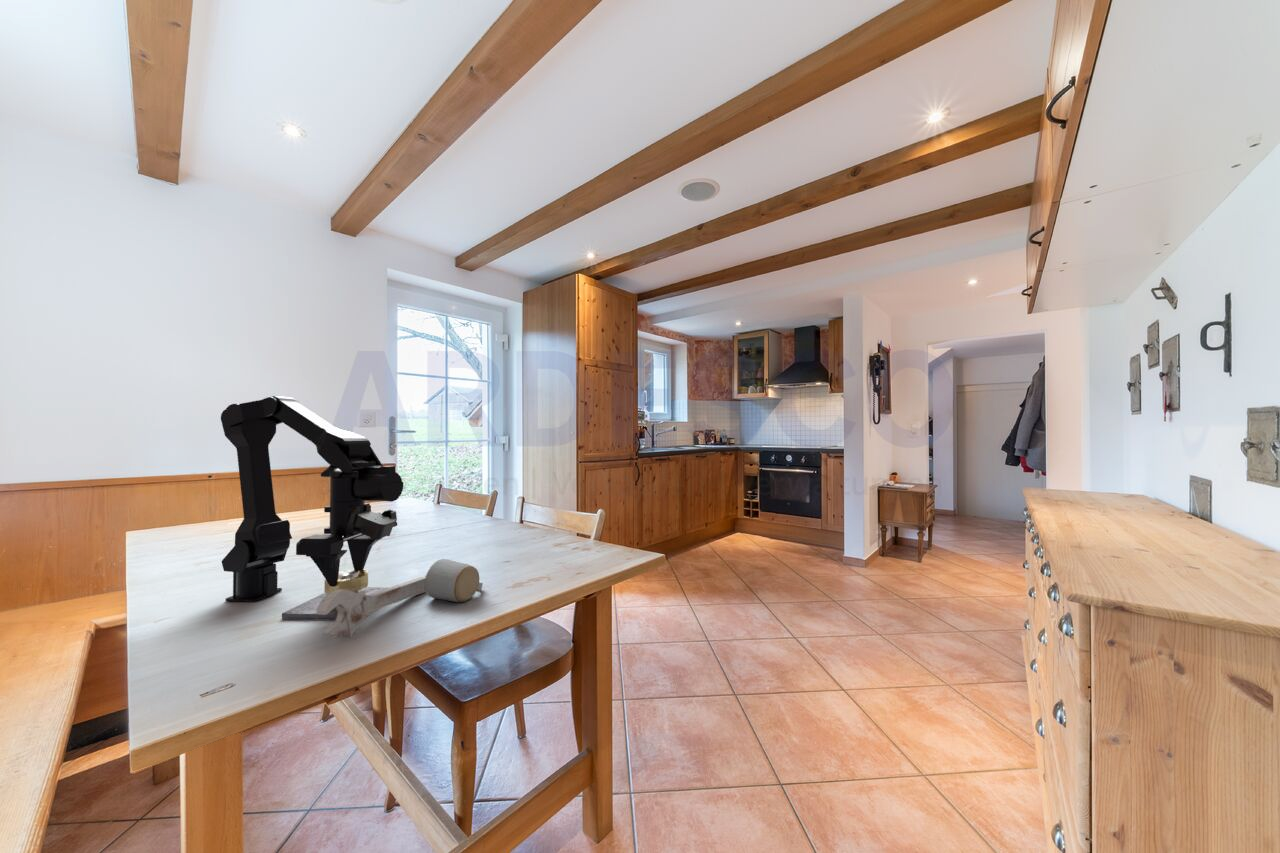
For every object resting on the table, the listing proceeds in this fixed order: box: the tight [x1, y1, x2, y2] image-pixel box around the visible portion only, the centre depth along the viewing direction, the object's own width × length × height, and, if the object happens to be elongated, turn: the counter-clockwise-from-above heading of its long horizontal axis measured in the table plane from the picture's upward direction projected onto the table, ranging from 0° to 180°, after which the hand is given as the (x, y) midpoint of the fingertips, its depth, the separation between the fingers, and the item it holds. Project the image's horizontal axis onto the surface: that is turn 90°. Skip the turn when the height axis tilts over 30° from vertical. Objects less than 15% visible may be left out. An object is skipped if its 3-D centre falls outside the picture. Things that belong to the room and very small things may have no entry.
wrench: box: [316, 574, 427, 638], centre depth 83 cm, size 8×2×30 cm
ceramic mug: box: [425, 558, 484, 603], centre depth 92 cm, size 11×8×8 cm
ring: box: [323, 569, 369, 593], centre depth 87 cm, size 7×7×2 cm
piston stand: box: [281, 570, 391, 621], centre depth 87 cm, size 14×14×6 cm
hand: (346, 579), depth 87 cm, fingers closed on ring, 7 cm apart
